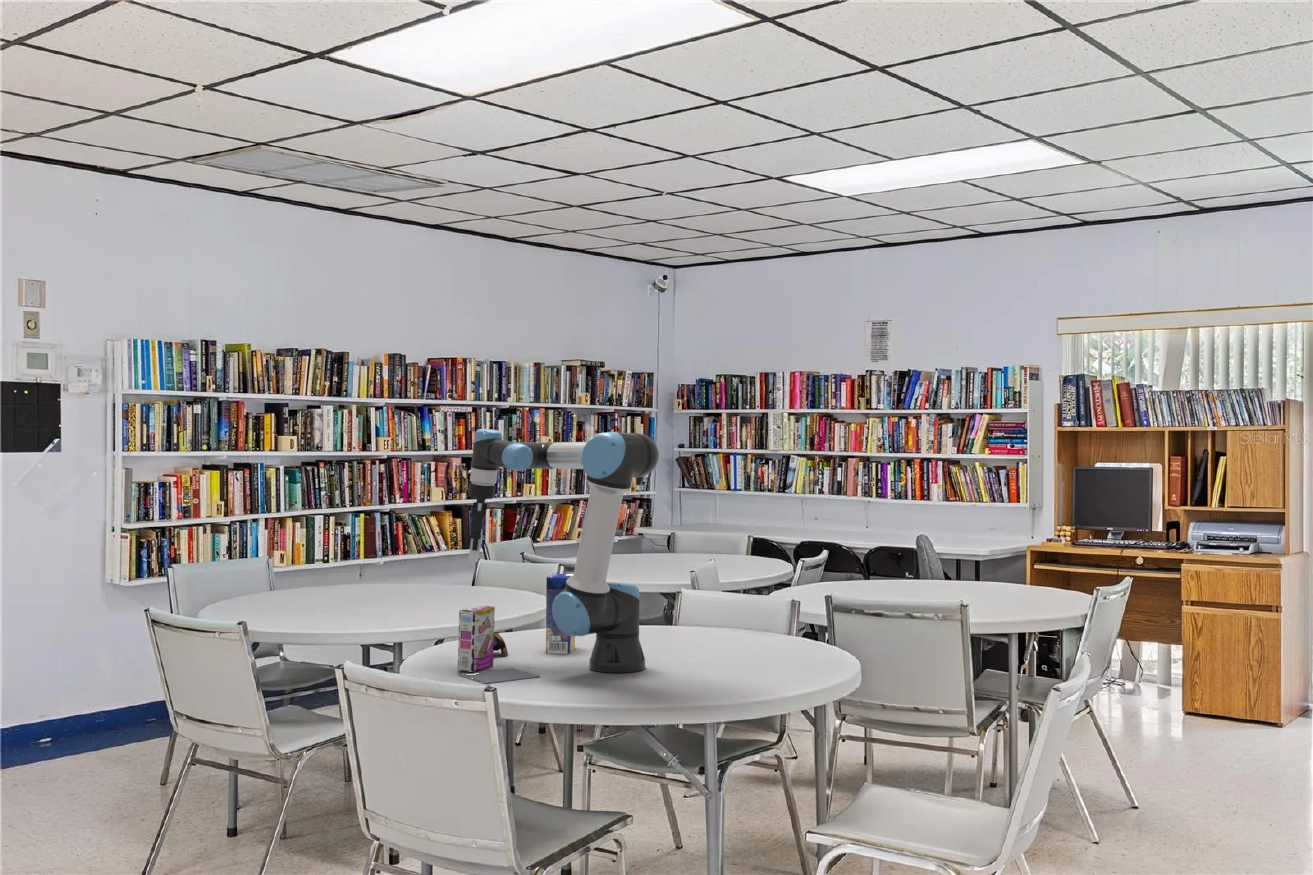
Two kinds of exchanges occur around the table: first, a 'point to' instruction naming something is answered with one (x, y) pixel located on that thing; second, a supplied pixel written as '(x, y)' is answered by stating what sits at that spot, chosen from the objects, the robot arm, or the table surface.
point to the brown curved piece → (499, 644)
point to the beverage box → (554, 635)
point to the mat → (501, 675)
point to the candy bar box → (476, 638)
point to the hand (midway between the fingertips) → (474, 556)
